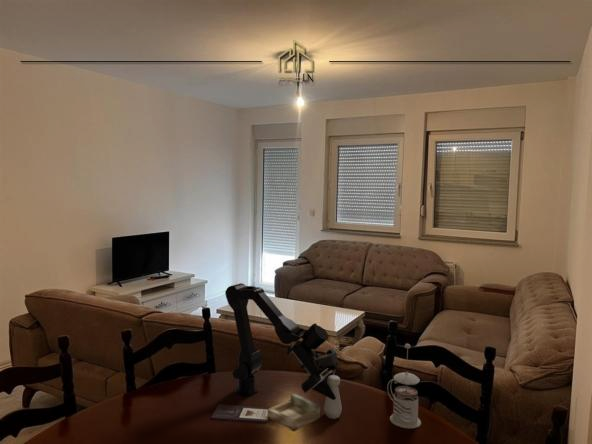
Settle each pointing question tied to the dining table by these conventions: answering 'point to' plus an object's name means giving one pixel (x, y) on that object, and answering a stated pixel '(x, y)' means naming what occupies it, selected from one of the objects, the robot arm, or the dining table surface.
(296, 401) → the maple tray
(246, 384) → the robot arm
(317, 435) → the dining table surface
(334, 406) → the salt shaker
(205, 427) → the dining table surface
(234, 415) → the chocolate bar
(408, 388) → the french press
